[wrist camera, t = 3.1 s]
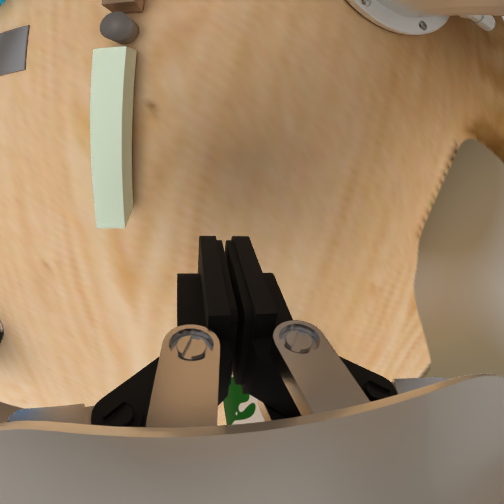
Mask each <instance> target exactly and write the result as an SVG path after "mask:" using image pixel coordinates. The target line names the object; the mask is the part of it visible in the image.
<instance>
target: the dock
mask: <svg viewBox="0 0 504 504" xmlns="http://www.w3.org/2000/svg"><path fill="white" fill-rule="evenodd" d="M144 1H145V0H102V5H103V6H104V7H106V8H107V9H108V10H110V11H111V12H112V13H110V14H108V15H107V16H105V17H104V19H103V20H102V22H101V24H100V32H101V34H102V35H103V36H104V37H106V38H108V39H111V40H113V41H115V42H118V43H120V44H128V43H131V42H132V41H134V40H135V39H136V38H137V36H138V33H139V27H138V25H137V24H136V23H135V22H134V21H133V20H132V19H131V18H129V17H128V16H127V15H126V14H125V13H138V12H143V8H144ZM28 32H29V25H27V26H24V27H20V28H16V29H13V30H10V31H6V32H3V33H0V75H4V74H8V73H12V72H16V71H21V70H25V66H26V52H27V41H28Z"/></svg>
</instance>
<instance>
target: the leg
mask: <svg viewBox="0 0 504 504" xmlns="http://www.w3.org/2000/svg"><path fill="white" fill-rule="evenodd" d="M136 55H137V51H136V50H134V49H132V48H129V47H127V46H122V47H109V48H99V49H93V60H92V75H91V98H90V145H91V169H92V185H93V197H94V208H95V218H96V226H97V228H125V227H126V224H127V221H128V219H129V216H130V214H131V211H132V208H133V190H132V118H133V95H134V79H135V66H136Z"/></svg>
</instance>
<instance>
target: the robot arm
mask: <svg viewBox="0 0 504 504" xmlns="http://www.w3.org/2000/svg"><path fill="white" fill-rule="evenodd" d="M347 1H348V2H349V3H350V4H351V6H352V7H354V8H355V9H356V10H357V11H358V12H359V13H361V14H362V15H363V16H364V17H366V18H367V19H369V20H370V21H372V22H373V23H375V24H376V25H378V26H380V27H382V28H384V29H387V30H389V31H392V32H396V33H399V34H405V35H424V34H428V33H432V32H434V31H436V30H438V29H440V28H441V27H442V26H443V25H444V24H445V23H446V22H447V20H448V18H449V17H450V16H453V15H458V16H460V17H461V18H465V19H466V18H469V19H470V20H471V21H472V22H474V23H475V24H477V25H478V26H479V27H481V28H482V29H484V30H485V31H491V30H493V28H494V27H495V19H494V17H493V16H492V15H495V16H504V0H347ZM361 1H362V2H361ZM362 3H363V4H362ZM232 372H233V377H234V382H235V385H241V388H242V393H243V394H249V395H251V396H253V397H254V398H256V399H258V406H259V409H260V412H261V414H262V416H263V418H264V420H265V421H264V422H255V423H246V424H234V425H222V426H217V413H218V405H219V404H220V403H221V402H222V401H223V400H224V399H225V398H226V397H227V396H228V390H229V385H231V377H232ZM0 504H504V377H503V376H499V375H495V374H472V375H466V376H460V377H455V378H452V379H446V378H442V377H431V378H408V379H393V381H392V382H390V381H389V380H387V379H386V378H384V377H383V376H380V375H378V374H376V373H374V372H372V371H369V370H367V369H365V368H363V367H361V366H359V365H357V364H354V363H352V362H350V361H348V360H346V359H344V358H342V357H340V356H338V354H337V353H336V352H335V350H334V349H333V347H332V346H331V344H330V343H329V342H328V340H327V339H326V337H325V336H324V334H323V333H322V332H321V331H320V330H319V329H318V328H317V327H315V326H314V325H312V324H310V323H307V322H304V321H298V320H293V319H292V317H291V314H290V312H289V310H288V307H287V305H286V302H285V300H284V298H283V295H282V293H281V291H280V288H279V286H278V284H277V281H276V279H275V276H274V275H273V273H262V270H261V267H260V265H259V262H258V259H257V257H256V254H255V252H254V249H253V246H252V244H251V241H250V238H249V237H248V236H232V239H231V240H226V245H225V252H224V248H223V243H222V240H216V236H199V258H198V274H177V327H176V328H174V329H172V330H171V331H170V332H168V333H167V334H166V336H165V338H164V340H163V344H162V348H161V352H160V357H158V358H157V359H155V360H154V361H153V362H151V363H150V364H149V365H147V366H146V367H145V368H143V369H142V370H141V371H139V372H138V373H136V374H135V375H134V376H132V377H131V378H130V379H128V380H127V381H125V382H124V383H123V384H121V385H120V386H118V387H117V388H116V389H114V390H113V391H112V392H110V393H109V394H107V395H106V396H105V397H103V398H102V399H101V400H100V401H99V402H97V403H96V404H95V406H90V407H85V405H84V404H76V405H67V406H56V407H44V408H30V409H22V410H18V411H16V412H15V413H13V414H12V415H11V416H10V418H9V419H8V421H7V423H1V424H0Z"/></svg>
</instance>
